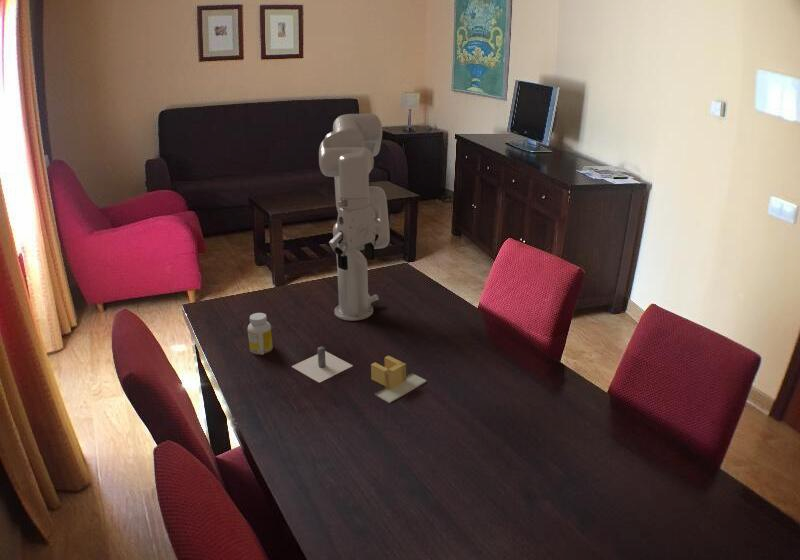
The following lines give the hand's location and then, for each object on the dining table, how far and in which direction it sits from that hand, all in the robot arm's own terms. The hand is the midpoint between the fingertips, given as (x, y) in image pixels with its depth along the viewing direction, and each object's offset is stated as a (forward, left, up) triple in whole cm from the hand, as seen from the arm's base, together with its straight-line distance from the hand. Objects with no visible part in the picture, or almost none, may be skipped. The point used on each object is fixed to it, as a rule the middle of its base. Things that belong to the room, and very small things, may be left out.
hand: (356, 263), depth 172 cm
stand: (+12, -2, -28) cm, 31 cm away
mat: (+4, +16, -28) cm, 33 cm away
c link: (+4, +16, -28) cm, 32 cm away
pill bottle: (+18, -22, -28) cm, 40 cm away
